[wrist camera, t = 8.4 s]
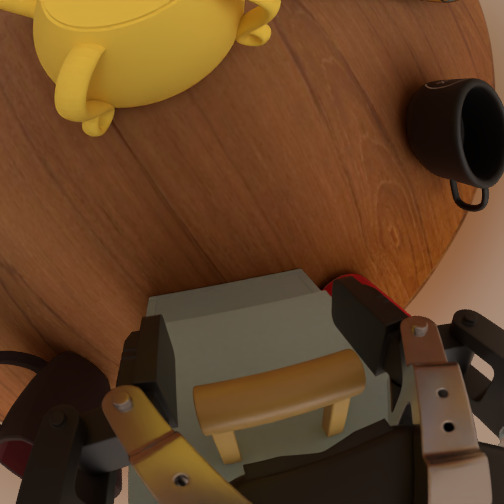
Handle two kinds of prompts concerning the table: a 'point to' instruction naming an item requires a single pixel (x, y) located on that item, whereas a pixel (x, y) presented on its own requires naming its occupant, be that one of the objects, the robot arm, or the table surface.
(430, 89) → the mug
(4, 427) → the mug
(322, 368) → the chest lid
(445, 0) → the decorative fish
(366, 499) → the robot arm
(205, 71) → the teapot
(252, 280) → the chest
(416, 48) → the table surface
